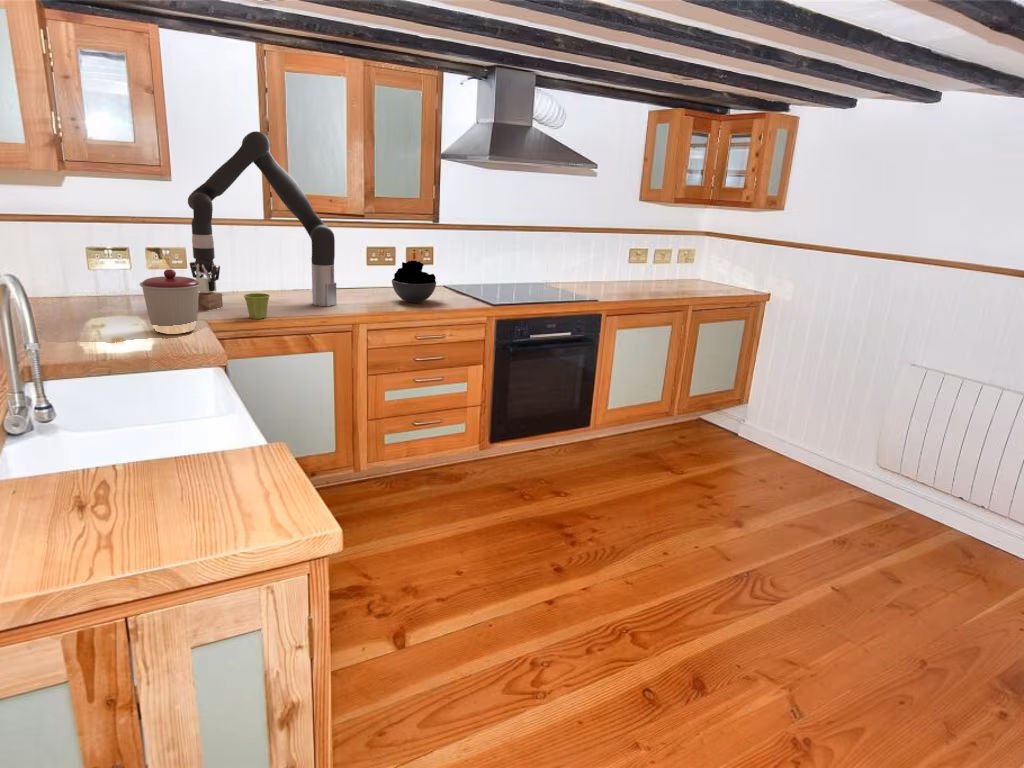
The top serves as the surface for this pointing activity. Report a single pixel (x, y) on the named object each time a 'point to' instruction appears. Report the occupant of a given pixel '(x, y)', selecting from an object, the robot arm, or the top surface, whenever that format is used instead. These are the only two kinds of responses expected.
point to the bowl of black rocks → (413, 282)
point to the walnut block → (210, 300)
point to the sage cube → (204, 285)
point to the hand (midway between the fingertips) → (206, 289)
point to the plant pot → (257, 305)
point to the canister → (171, 299)
